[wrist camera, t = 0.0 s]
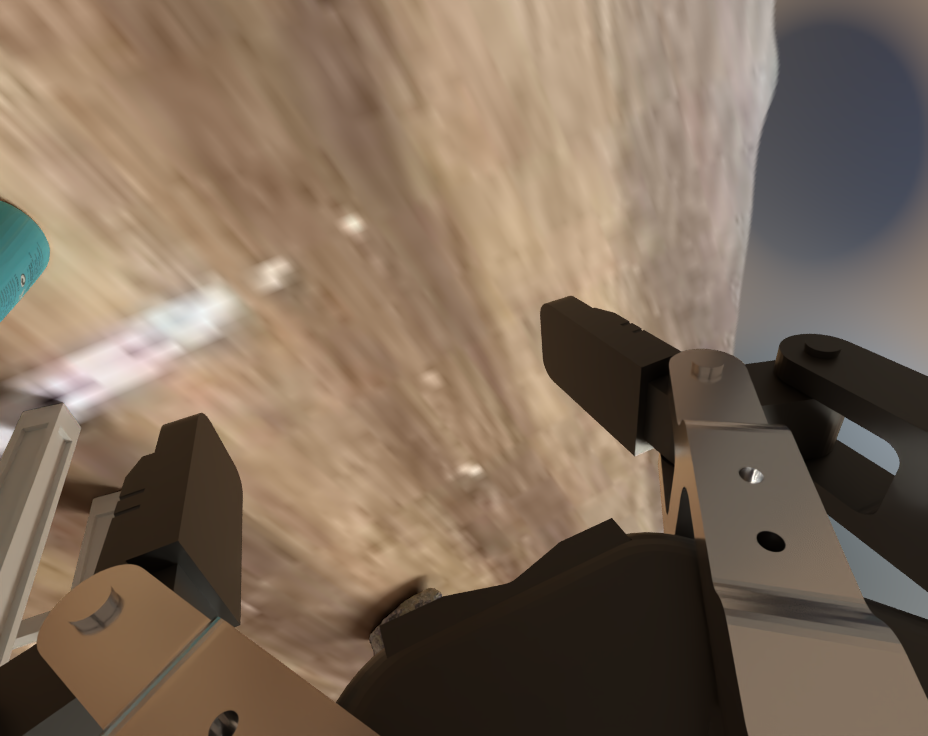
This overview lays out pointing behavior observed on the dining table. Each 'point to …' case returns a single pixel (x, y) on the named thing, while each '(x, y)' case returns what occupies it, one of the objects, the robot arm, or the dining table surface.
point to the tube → (19, 255)
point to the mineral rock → (404, 608)
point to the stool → (38, 515)
